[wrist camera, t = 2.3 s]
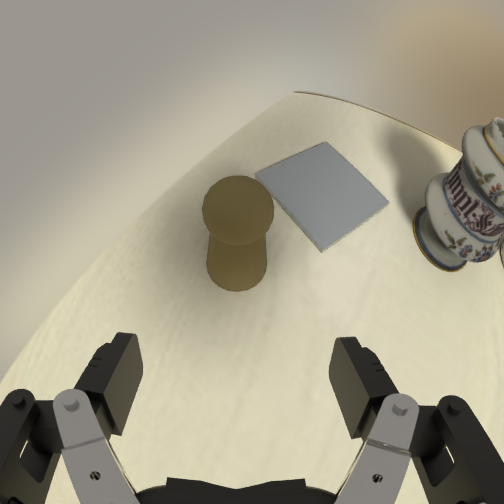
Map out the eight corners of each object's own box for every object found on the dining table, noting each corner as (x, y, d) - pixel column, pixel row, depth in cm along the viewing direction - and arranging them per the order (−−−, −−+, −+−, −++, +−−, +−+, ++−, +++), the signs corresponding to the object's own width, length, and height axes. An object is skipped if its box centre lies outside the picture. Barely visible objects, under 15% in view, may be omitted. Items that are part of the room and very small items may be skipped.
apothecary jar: (458, 206, 36) (525, 124, 20) (480, 280, 30) (573, 209, 14) (396, 195, 35) (461, 89, 19) (416, 280, 30) (522, 185, 14)
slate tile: (325, 145, 38) (326, 141, 37) (387, 205, 34) (389, 202, 33) (255, 178, 35) (255, 173, 34) (321, 253, 31) (323, 249, 30)
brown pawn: (194, 258, 29) (177, 189, 20) (241, 226, 31) (245, 151, 22) (231, 303, 28) (230, 251, 18) (279, 267, 30) (301, 202, 20)
